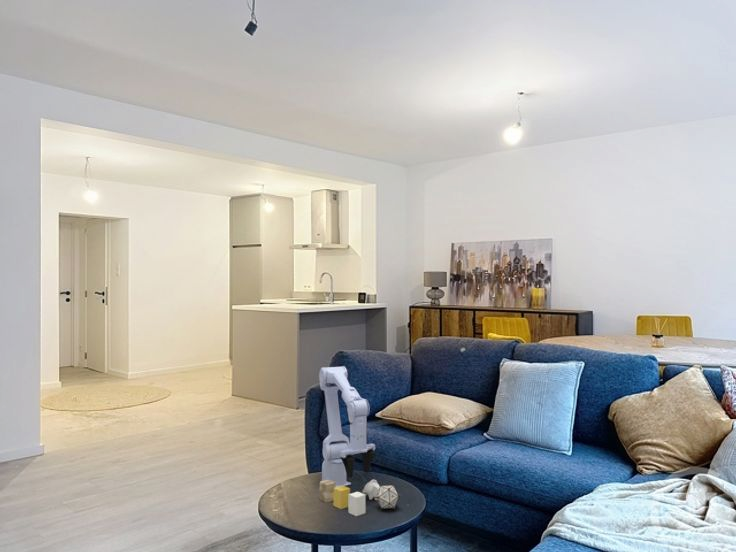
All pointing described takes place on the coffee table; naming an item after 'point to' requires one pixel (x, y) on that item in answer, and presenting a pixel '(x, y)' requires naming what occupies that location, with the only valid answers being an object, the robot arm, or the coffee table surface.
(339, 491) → the mustard bar
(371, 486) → the elephant figurine
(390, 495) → the game die
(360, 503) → the off-white bar
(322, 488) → the birch bar
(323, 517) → the coffee table surface
